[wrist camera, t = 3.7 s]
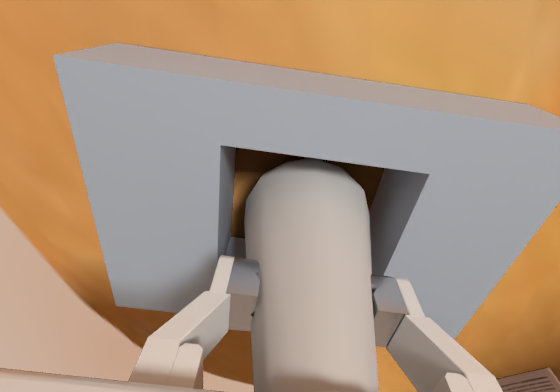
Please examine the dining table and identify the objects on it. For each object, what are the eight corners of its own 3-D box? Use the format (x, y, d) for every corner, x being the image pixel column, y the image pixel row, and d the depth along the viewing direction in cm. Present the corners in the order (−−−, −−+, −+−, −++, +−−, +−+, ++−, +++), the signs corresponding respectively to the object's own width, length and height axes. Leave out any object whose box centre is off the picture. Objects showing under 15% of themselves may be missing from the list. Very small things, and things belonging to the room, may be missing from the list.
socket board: (527, 104, 13) (608, 137, 10) (423, 286, 20) (450, 344, 16) (117, 42, 12) (52, 54, 9) (147, 252, 19) (115, 306, 15)
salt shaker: (233, 160, 15) (77, 554, 4) (344, 124, 14) (532, 546, 3) (273, 243, 18) (242, 607, 7) (367, 219, 17) (507, 613, 6)
